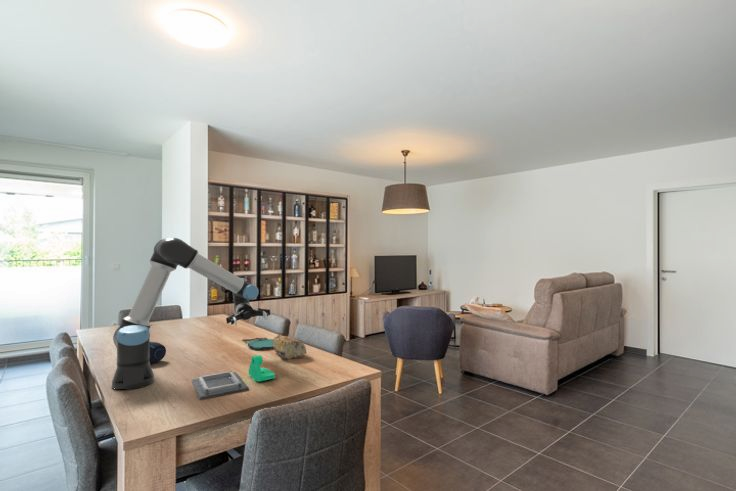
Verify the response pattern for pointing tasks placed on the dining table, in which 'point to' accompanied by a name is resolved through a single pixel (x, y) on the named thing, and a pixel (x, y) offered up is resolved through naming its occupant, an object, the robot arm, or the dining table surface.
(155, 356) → the portable speaker
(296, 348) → the petrified wood
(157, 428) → the dining table surface
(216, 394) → the plate
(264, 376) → the camera mount
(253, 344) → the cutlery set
